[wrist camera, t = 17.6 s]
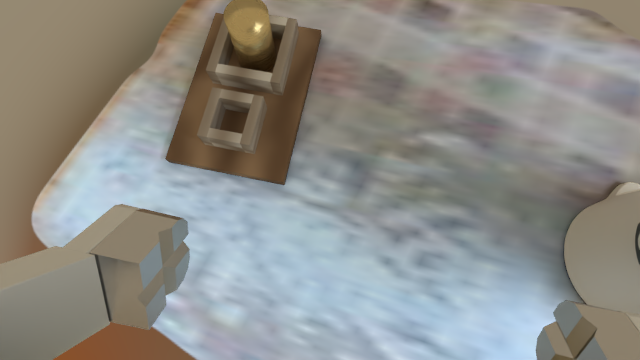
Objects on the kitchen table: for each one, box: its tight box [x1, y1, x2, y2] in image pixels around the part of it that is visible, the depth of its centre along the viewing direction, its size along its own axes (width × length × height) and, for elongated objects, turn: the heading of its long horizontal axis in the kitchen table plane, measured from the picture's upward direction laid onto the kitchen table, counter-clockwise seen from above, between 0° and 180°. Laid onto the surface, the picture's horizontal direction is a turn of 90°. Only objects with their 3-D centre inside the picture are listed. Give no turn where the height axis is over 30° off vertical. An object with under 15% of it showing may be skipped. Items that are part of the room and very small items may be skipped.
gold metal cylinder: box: [224, 0, 276, 72], centre depth 45 cm, size 5×5×8 cm
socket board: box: [165, 13, 321, 185], centre depth 47 cm, size 15×22×4 cm
